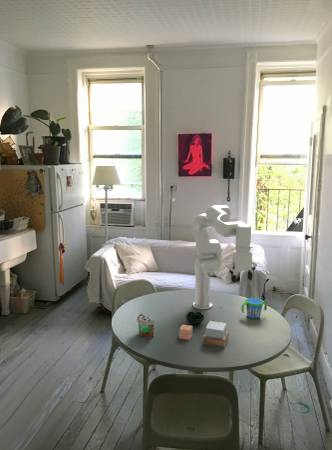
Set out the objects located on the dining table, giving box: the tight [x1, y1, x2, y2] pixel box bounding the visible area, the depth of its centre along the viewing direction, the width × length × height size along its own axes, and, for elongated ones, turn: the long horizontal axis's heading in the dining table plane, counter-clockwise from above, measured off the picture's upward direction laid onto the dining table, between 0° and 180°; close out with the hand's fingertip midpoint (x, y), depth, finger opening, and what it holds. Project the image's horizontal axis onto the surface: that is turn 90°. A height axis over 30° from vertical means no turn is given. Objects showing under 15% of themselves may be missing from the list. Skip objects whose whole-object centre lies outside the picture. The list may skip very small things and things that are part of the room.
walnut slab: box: [202, 329, 229, 348], centre depth 202 cm, size 11×11×4 cm
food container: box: [136, 312, 156, 339], centre depth 207 cm, size 12×6×10 cm, turn 37°
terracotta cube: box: [179, 324, 193, 341], centre depth 206 cm, size 6×6×6 cm
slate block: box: [205, 320, 227, 339], centre depth 201 cm, size 9×9×4 cm
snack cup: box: [240, 297, 268, 320], centre depth 231 cm, size 16×10×10 cm
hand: (241, 280), depth 201 cm, fingers open, 9 cm apart
